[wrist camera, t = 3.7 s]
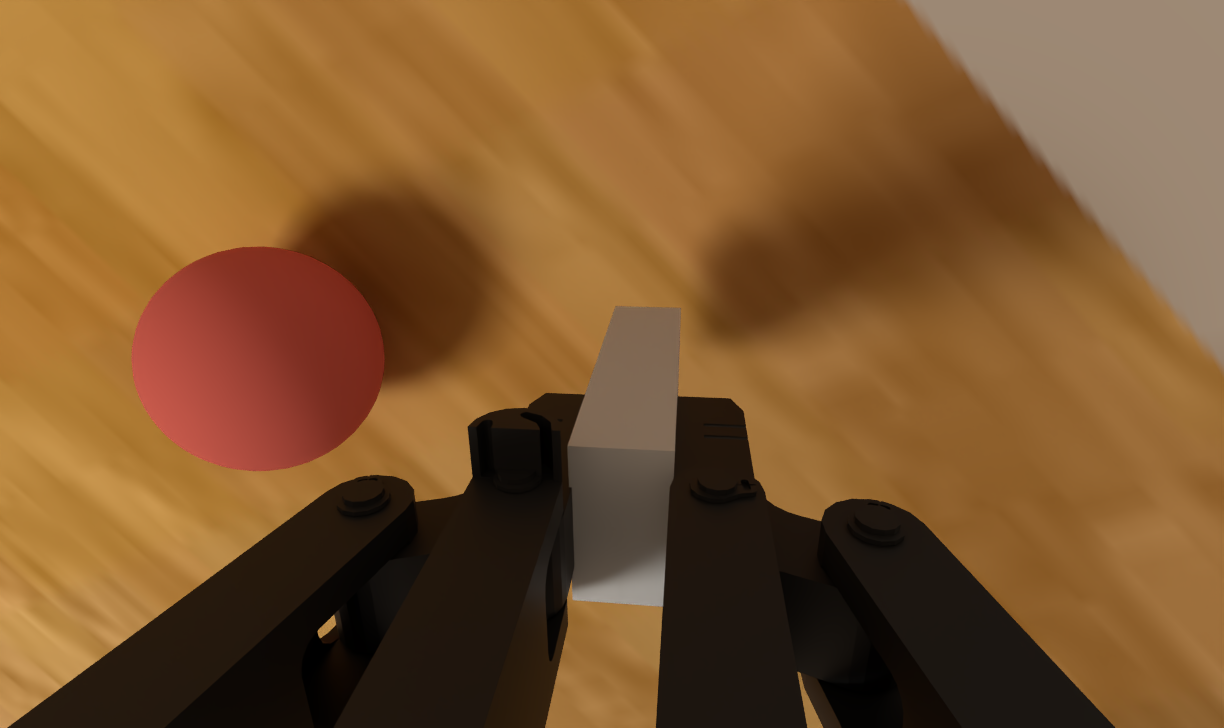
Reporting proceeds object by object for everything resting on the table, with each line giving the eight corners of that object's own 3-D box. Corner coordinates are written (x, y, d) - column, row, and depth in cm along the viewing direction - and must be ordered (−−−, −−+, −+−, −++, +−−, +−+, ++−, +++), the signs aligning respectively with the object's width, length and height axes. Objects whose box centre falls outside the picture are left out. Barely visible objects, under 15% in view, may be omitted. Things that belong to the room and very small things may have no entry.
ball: (404, 229, 18) (290, 282, 13) (426, 415, 20) (335, 524, 15) (213, 225, 18) (30, 275, 13) (253, 407, 20) (108, 509, 15)
